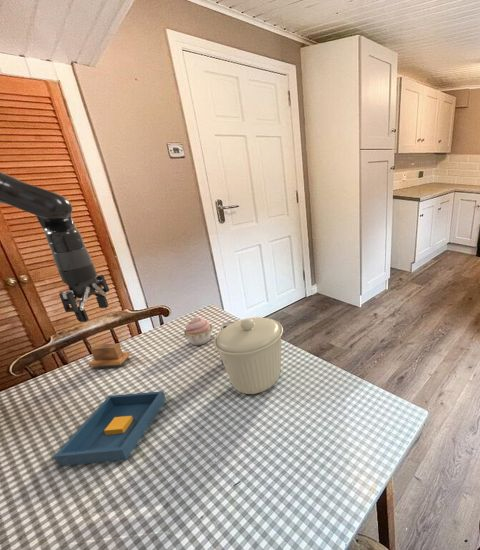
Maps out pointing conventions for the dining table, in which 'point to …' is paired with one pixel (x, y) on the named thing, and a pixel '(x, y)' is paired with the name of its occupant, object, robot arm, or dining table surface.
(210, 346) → the dining table surface
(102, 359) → the brown wooden stepped block
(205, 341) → the cupcake
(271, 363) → the canister
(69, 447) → the tray
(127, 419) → the yellow square block
